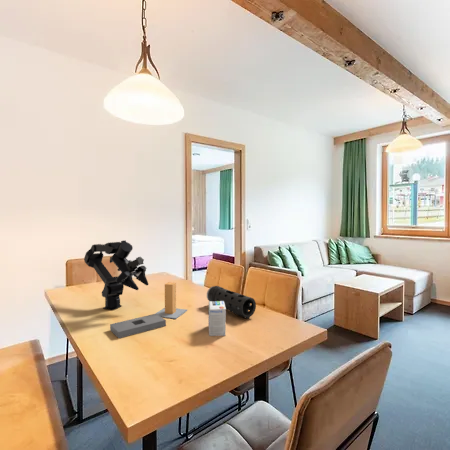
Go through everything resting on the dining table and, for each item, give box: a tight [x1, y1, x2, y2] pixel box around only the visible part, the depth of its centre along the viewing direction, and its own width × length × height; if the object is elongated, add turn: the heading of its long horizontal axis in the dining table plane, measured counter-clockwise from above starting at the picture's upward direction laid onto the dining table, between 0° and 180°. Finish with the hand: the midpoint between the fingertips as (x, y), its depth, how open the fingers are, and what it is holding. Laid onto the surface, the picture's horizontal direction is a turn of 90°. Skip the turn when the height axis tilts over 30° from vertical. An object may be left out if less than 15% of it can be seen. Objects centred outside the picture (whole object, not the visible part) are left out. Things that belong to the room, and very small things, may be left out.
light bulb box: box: [208, 300, 227, 337], centre depth 118 cm, size 11×7×11 cm, turn 5°
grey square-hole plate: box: [109, 313, 167, 339], centre depth 120 cm, size 10×20×2 cm, turn 129°
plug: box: [164, 281, 177, 314], centre depth 138 cm, size 4×4×14 cm
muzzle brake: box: [206, 285, 257, 320], centre depth 141 cm, size 10×28×10 cm, turn 39°
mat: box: [154, 307, 188, 320], centre depth 138 cm, size 12×12×1 cm
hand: (143, 287), depth 138 cm, fingers open, 9 cm apart
